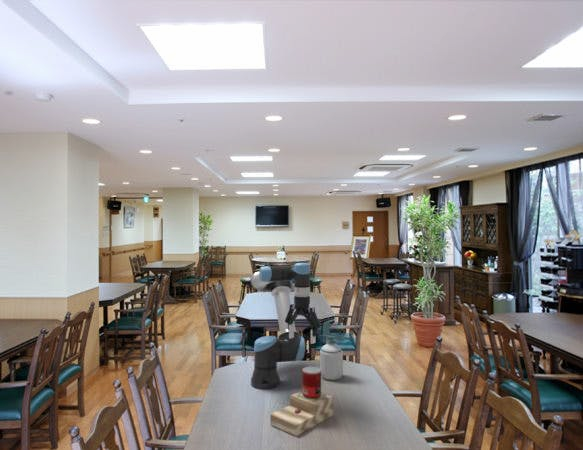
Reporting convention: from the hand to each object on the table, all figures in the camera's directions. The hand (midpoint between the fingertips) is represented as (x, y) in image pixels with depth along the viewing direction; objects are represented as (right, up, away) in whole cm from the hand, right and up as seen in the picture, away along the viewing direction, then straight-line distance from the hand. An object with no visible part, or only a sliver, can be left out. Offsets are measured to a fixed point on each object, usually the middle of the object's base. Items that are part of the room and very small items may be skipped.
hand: (302, 340), depth 191 cm
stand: (0, -26, -23) cm, 35 cm away
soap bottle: (+16, -27, +25) cm, 41 cm away
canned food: (+4, -18, -18) cm, 26 cm away
